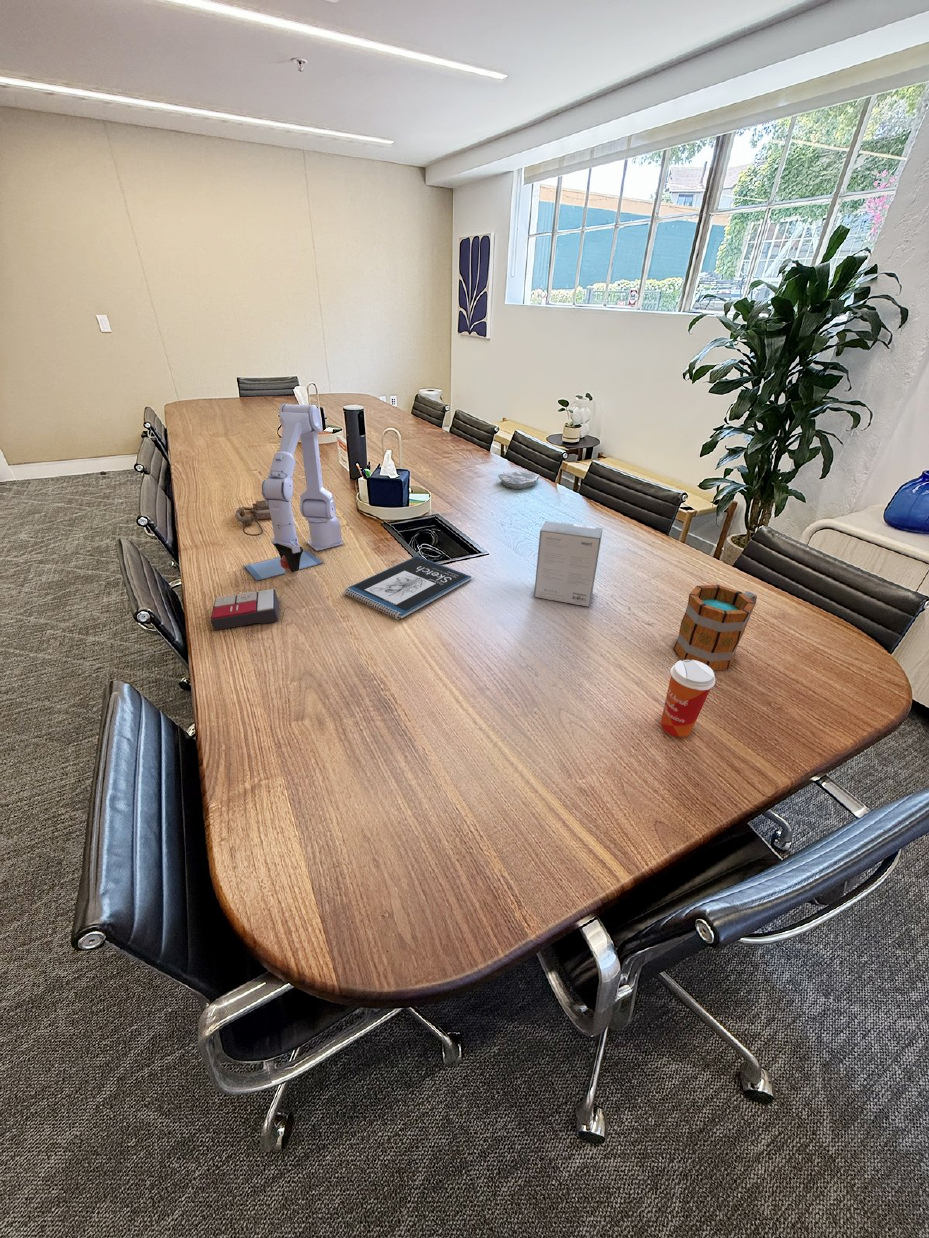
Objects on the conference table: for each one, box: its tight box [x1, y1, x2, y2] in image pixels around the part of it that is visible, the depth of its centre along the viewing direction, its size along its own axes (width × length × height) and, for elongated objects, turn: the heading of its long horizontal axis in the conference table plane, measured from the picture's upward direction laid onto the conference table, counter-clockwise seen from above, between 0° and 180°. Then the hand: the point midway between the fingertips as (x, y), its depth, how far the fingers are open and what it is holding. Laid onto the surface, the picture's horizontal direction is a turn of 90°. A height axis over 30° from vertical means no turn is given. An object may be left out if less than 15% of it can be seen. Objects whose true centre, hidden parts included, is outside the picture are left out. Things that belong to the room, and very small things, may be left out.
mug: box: [672, 584, 758, 671], centre depth 118 cm, size 20×14×15 cm
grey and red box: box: [210, 588, 279, 631], centre depth 130 cm, size 11×4×15 cm
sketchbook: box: [343, 555, 472, 621], centre depth 144 cm, size 22×30×2 cm
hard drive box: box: [533, 520, 604, 607], centre depth 137 cm, size 16×8×20 cm, turn 71°
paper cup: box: [660, 659, 716, 738], centre depth 96 cm, size 8×8×14 cm
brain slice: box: [497, 470, 541, 490], centre depth 227 cm, size 20×17×3 cm
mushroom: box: [280, 555, 300, 578], centre depth 145 cm, size 5×5×7 cm
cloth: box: [244, 549, 323, 582], centre depth 155 cm, size 20×11×1 cm, turn 127°
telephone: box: [235, 499, 271, 537], centre depth 183 cm, size 15×33×4 cm, turn 23°
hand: (291, 567), depth 146 cm, fingers closed on mushroom, 5 cm apart
